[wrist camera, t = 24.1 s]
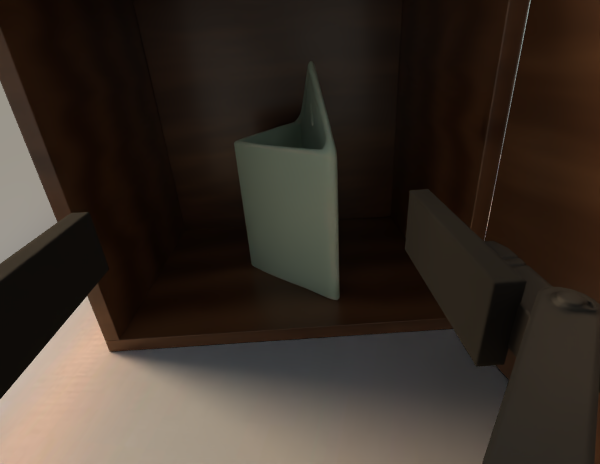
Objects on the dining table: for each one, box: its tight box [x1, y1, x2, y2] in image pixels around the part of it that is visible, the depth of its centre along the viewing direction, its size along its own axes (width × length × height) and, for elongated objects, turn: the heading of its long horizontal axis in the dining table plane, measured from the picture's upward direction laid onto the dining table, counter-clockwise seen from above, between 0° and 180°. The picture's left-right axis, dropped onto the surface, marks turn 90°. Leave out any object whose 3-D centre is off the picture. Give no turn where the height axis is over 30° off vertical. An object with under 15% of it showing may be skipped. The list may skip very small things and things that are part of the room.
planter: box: [234, 61, 340, 300], centre depth 35 cm, size 16×8×20 cm, turn 9°
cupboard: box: [0, 0, 530, 352], centre depth 33 cm, size 22×30×30 cm
